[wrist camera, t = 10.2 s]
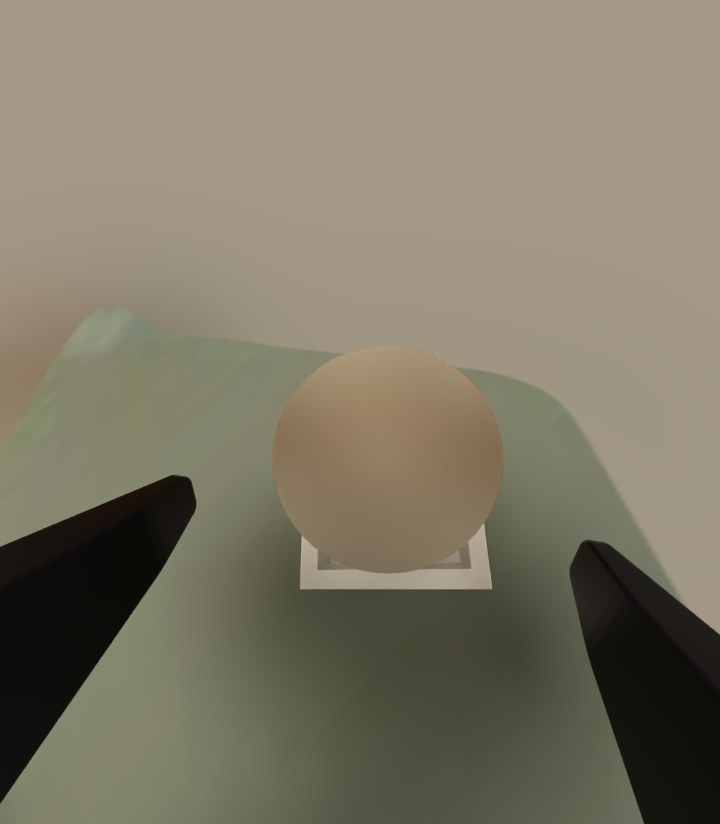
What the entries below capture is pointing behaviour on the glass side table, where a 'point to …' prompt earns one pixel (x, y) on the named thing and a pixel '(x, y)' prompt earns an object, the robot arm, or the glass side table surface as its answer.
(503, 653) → the glass side table surface
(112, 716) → the glass side table surface
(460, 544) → the tan rounded rod
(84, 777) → the glass side table surface
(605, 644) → the robot arm
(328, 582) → the white square tray
